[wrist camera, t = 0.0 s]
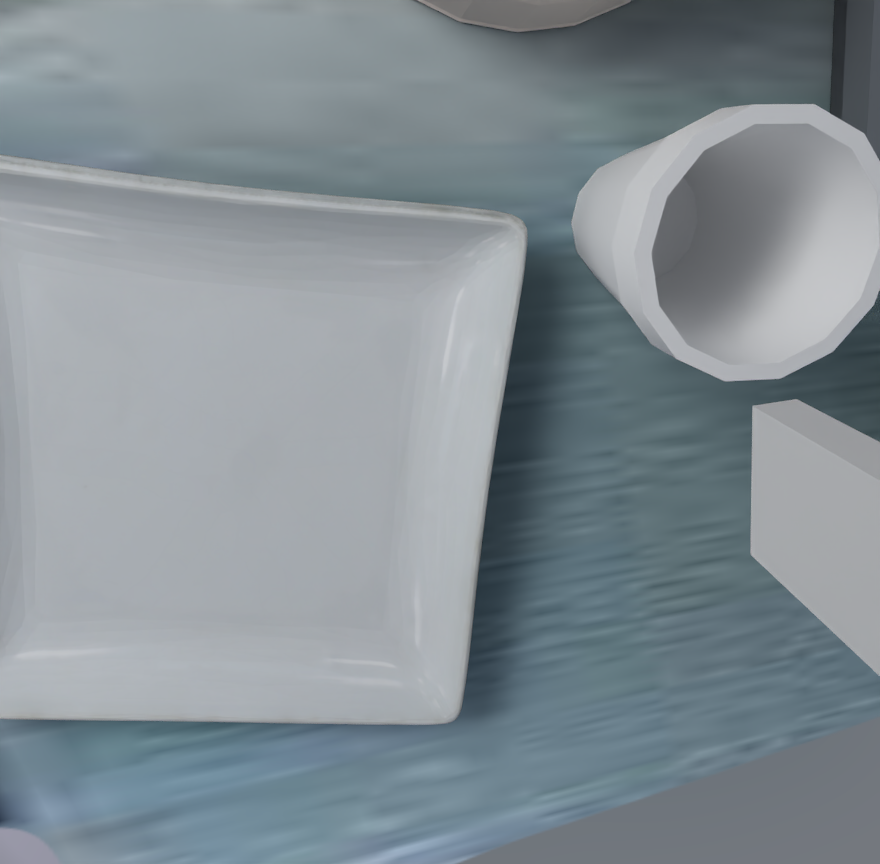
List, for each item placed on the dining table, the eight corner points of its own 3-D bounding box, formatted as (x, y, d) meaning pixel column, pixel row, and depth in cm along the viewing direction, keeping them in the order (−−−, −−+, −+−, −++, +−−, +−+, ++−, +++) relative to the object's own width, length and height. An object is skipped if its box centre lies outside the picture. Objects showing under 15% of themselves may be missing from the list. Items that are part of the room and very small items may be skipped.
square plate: (516, 209, 40) (535, 214, 36) (450, 689, 48) (461, 733, 44) (-91, 140, 36) (-138, 138, 32) (-48, 679, 44) (-82, 727, 40)
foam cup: (735, 119, 39) (918, 103, 27) (716, 311, 42) (874, 374, 30) (542, 121, 38) (643, 105, 26) (537, 318, 41) (625, 386, 29)
